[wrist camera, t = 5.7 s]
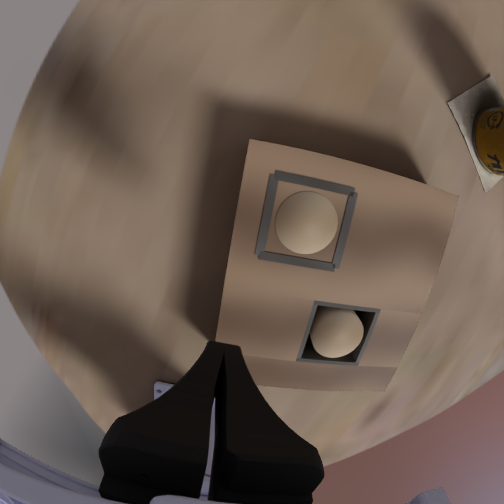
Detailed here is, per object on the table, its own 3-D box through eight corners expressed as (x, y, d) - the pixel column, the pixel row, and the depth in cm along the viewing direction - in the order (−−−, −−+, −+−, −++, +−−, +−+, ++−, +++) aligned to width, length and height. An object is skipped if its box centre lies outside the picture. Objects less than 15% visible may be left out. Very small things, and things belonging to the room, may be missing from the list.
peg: (339, 330, 24) (353, 359, 20) (298, 325, 24) (306, 355, 20) (353, 291, 23) (370, 316, 19) (309, 284, 23) (320, 310, 19)
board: (370, 363, 25) (384, 392, 21) (214, 346, 24) (209, 378, 20) (428, 188, 20) (459, 196, 16) (249, 142, 19) (249, 138, 16)
